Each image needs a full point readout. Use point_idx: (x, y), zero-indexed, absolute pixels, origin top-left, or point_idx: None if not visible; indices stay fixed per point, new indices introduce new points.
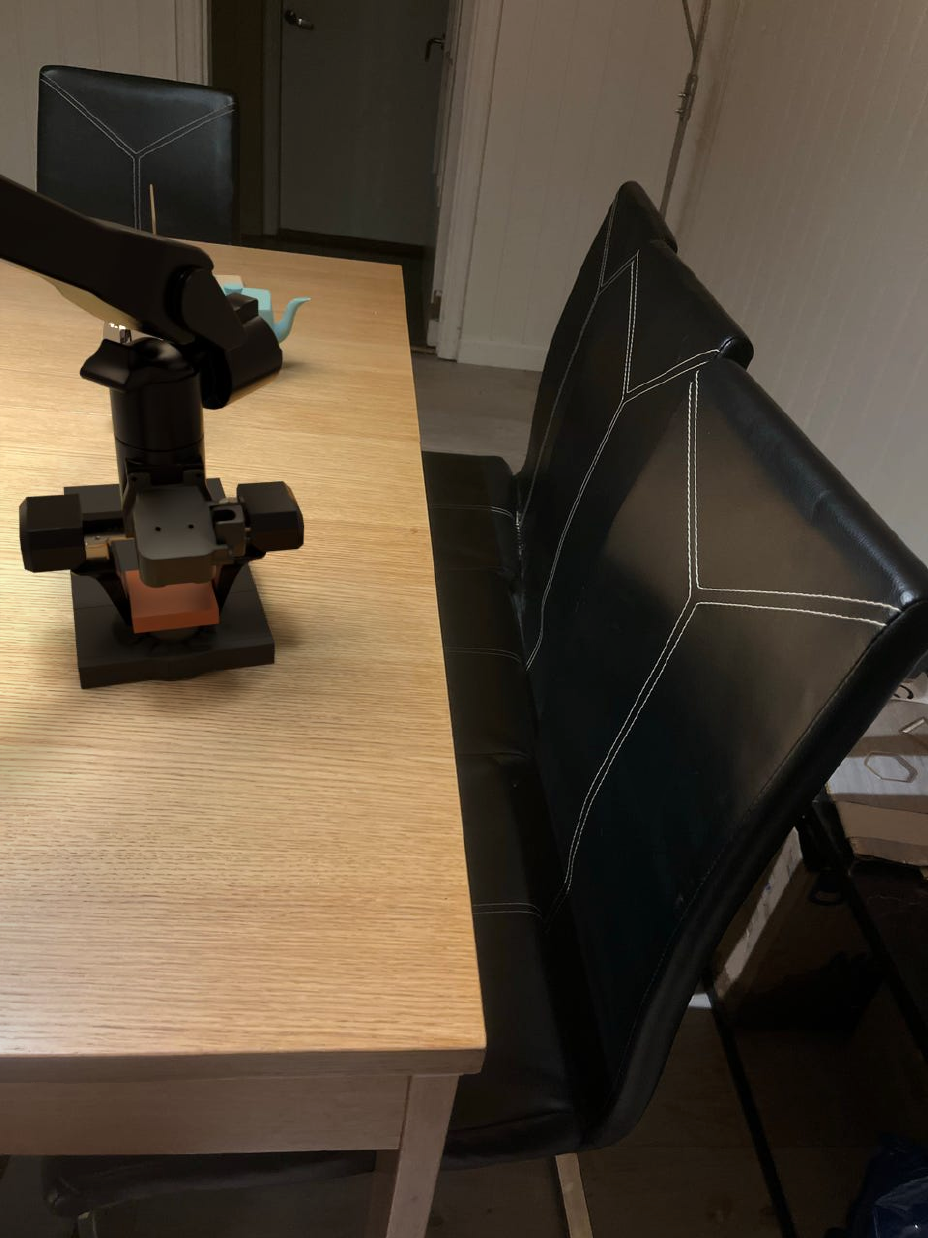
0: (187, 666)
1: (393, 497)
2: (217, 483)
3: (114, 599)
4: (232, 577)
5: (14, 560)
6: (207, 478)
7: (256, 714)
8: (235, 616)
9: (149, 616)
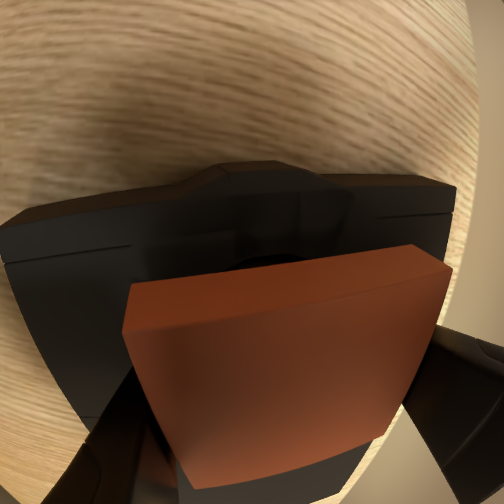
0: (241, 167)
1: (11, 485)
2: None
3: (466, 338)
4: (74, 480)
5: (398, 414)
6: None
7: (87, 24)
8: (105, 350)
9: (418, 278)
